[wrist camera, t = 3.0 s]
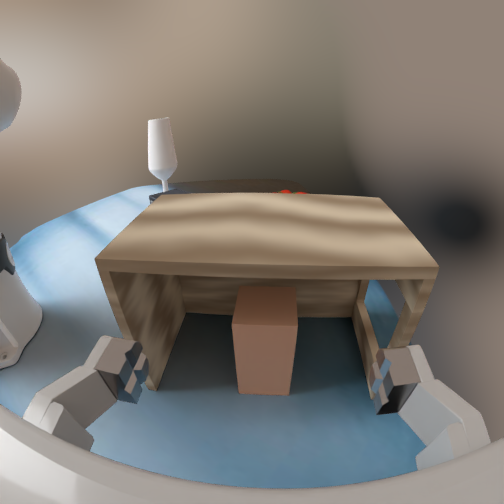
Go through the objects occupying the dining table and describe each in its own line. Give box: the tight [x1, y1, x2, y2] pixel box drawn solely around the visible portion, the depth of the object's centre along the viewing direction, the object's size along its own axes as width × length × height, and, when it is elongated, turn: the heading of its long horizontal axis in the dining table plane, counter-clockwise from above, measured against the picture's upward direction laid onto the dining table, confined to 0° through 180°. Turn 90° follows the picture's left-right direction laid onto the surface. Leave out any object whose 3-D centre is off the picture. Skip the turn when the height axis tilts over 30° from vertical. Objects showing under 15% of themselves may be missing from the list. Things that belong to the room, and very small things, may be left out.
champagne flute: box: [148, 118, 177, 192], centre depth 61 cm, size 7×7×24 cm
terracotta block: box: [232, 286, 298, 395], centre depth 26 cm, size 5×5×10 cm
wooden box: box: [95, 193, 439, 400], centre depth 27 cm, size 14×24×16 cm, turn 85°
